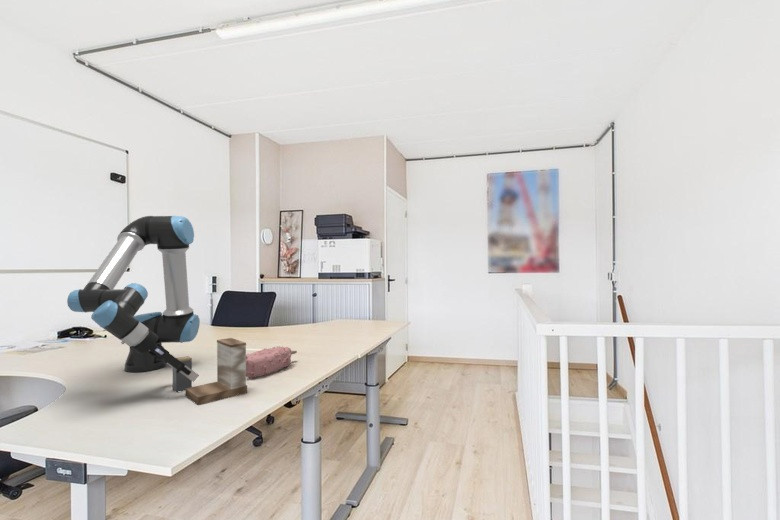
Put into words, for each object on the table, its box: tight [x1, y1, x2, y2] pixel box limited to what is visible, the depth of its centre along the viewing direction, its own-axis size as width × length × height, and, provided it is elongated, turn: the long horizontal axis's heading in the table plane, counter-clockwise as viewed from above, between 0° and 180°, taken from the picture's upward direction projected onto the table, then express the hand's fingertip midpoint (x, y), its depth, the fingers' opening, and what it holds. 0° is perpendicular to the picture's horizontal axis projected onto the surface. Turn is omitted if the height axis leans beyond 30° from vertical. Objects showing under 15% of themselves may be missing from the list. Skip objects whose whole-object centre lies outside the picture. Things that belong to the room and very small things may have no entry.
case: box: [172, 355, 193, 393], centre depth 137 cm, size 5×4×11 cm
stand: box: [184, 337, 248, 406], centre depth 131 cm, size 16×12×17 cm
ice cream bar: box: [246, 345, 298, 379], centre depth 161 cm, size 13×9×30 cm
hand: (189, 374), depth 138 cm, fingers open, 12 cm apart
